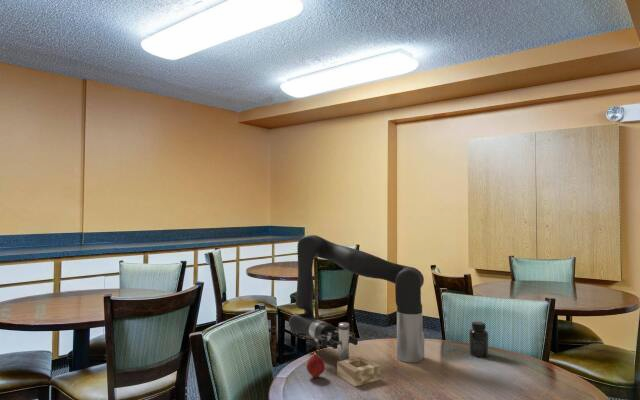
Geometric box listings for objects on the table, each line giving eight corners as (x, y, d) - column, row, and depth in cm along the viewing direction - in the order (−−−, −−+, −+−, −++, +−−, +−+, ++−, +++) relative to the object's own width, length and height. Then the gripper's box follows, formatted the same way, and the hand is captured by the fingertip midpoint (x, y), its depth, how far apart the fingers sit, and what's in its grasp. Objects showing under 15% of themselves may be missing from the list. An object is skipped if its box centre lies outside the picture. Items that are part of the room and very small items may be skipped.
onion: (326, 375, 137) (326, 351, 137) (321, 382, 131) (321, 356, 132) (310, 373, 139) (310, 349, 139) (303, 379, 133) (304, 354, 134)
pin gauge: (345, 364, 147) (345, 321, 147) (351, 368, 144) (351, 324, 144) (336, 366, 145) (336, 323, 146) (342, 370, 142) (342, 325, 142)
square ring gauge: (361, 369, 142) (361, 356, 142) (380, 379, 134) (380, 365, 134) (337, 375, 137) (337, 361, 137) (354, 386, 128) (354, 371, 129)
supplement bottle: (472, 350, 163) (472, 319, 163) (490, 354, 159) (490, 322, 159) (466, 355, 157) (466, 323, 158) (485, 359, 153) (485, 326, 154)
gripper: (306, 324, 153) (329, 336, 139) (338, 319, 161) (363, 330, 147) (305, 345, 153) (329, 358, 139) (338, 339, 161) (363, 351, 147)
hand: (346, 344), depth 143 cm, fingers open, 8 cm apart
